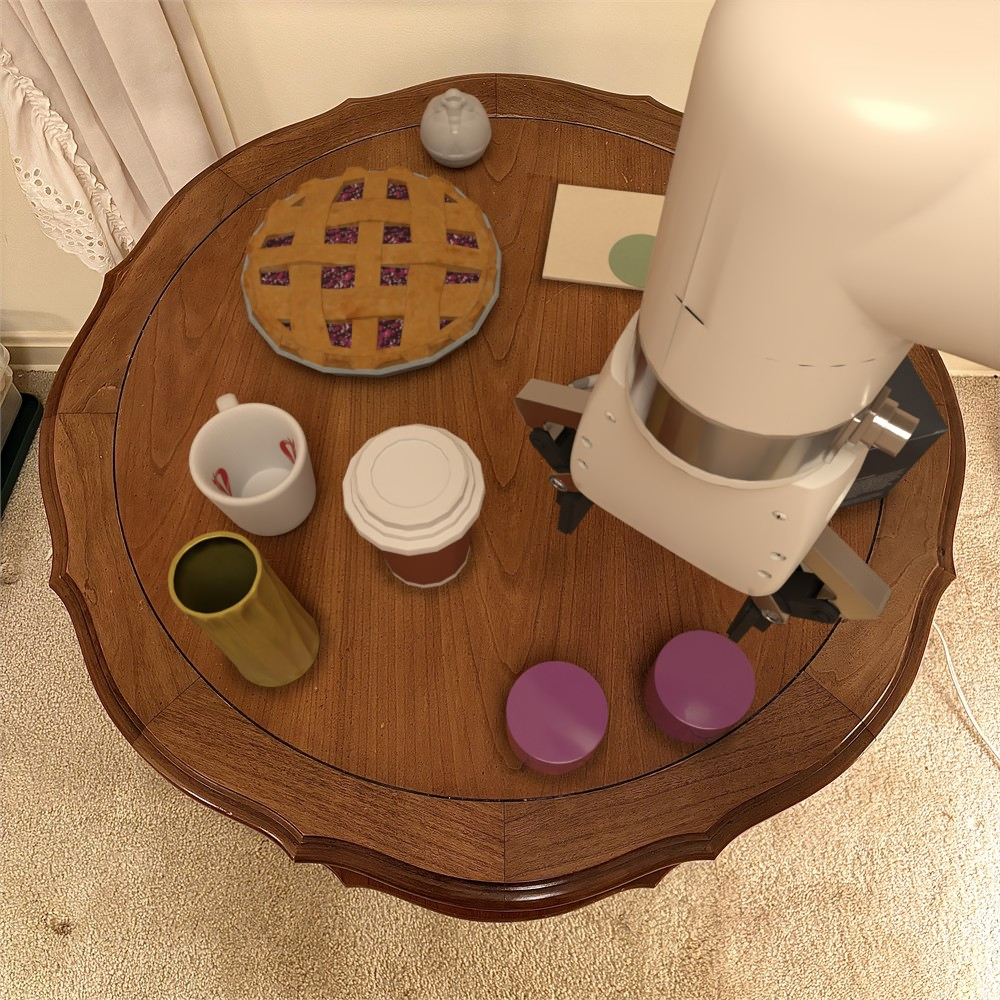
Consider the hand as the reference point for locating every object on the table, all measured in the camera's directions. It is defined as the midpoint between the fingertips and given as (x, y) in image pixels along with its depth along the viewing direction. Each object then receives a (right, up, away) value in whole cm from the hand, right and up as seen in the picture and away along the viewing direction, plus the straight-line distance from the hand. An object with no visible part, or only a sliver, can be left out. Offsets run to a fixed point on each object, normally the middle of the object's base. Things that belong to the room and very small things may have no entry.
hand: (659, 562), depth 42 cm
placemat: (+6, +26, +33) cm, 43 cm away
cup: (-26, +4, +23) cm, 35 cm away
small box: (+17, +7, +24) cm, 30 cm away
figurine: (-12, +36, +38) cm, 54 cm away
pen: (+4, +13, +27) cm, 31 cm away
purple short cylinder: (-4, -12, +15) cm, 20 cm away
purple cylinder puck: (+5, -10, +16) cm, 19 cm away
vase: (-24, -7, +17) cm, 30 cm away
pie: (-19, +21, +31) cm, 42 cm away
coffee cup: (-14, 0, +21) cm, 25 cm away
